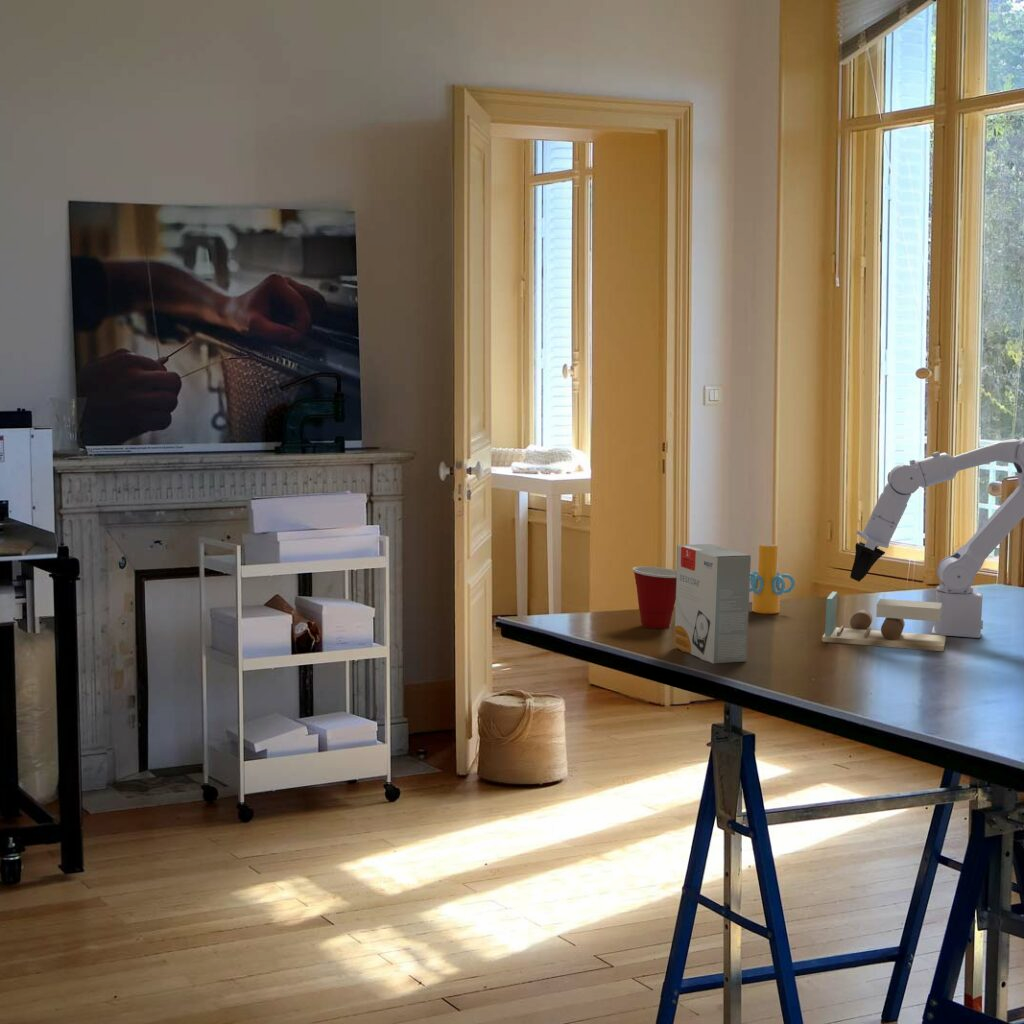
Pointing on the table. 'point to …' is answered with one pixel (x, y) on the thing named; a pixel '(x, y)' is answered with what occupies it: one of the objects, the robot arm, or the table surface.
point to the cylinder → (768, 582)
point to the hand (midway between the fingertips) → (856, 578)
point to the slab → (909, 610)
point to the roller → (861, 620)
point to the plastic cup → (655, 595)
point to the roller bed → (878, 633)
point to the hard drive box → (712, 603)
